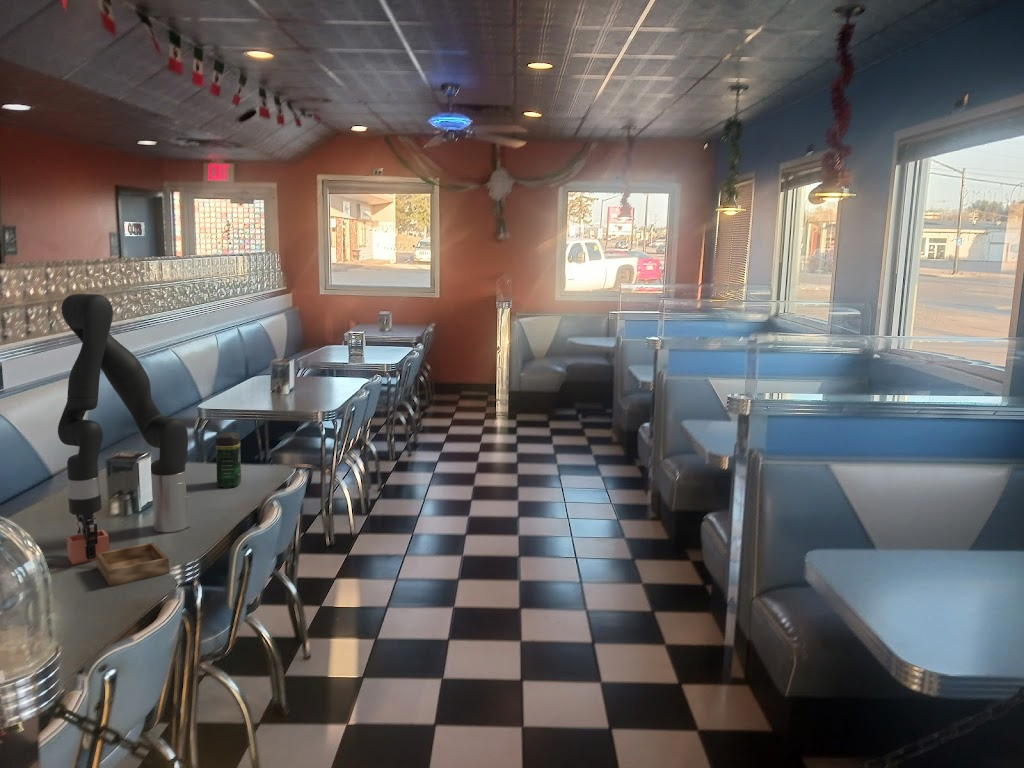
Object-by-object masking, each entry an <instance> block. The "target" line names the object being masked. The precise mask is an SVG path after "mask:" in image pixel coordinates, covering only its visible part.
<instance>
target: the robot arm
mask: <svg viewBox="0 0 1024 768" xmlns="http://www.w3.org/2000/svg"><path fill="white" fill-rule="evenodd" d="M61 315H62V317H63V319H64V322H65V323H66V324H67V326H68V327H69V328H70V330H71V331H72V332H73V333H74V334H75V336H76V337H77V338H78V339H79V340H80V342H82V343H81V344H82V345H81V348H80V351H79V353H78V355H77V358H76V360H75V361H74V363H73V365H72V368H71V370H70V373H69V377H68V383H67V397H66V399H67V400H66V404H65V405H64V408H63V411H62V415H61V417H60V420H59V422H58V426H57V436H58V438H59V440H60V442H62V444H64V445H65V446H66V445H67V446H74V447H78V449H79V450H78V454H77V453H76V454H73V455H71V456H69V457H68V459H67V462H66V468H67V469H66V470H67V498H68V511H69V513H70V514H71V515H75V517H76V518H75V519H76V527H77V528H76V529H77V535H78V534H81V535H82V537H83V538H84V540H85V547H86V558H87V559H94V558H96V548H95V544H98V540H97V531H98V523H97V518H96V517H95V516H94V514H95V513H98V512H99V511H101V510H102V507H103V506H102V494H101V493H102V490H101V481H100V476H99V464H98V463H99V462H98V461H99V457H100V456H99V455H100V452H101V448H102V443H103V438H104V432H103V429H102V427H101V425H100V424H99V422H97V421H95V420H92V419H91V420H90V419H84V417H85V415H86V413H87V412H88V411H92V410H95V409H96V408H97V407H98V405H99V404H98V401H99V392H100V391H99V390H100V380H101V378H100V377H101V370H102V372H103V374H104V376H105V377H106V379H107V381H108V382H109V384H110V385H111V386H112V388H113V390H114V391H115V392H116V394H117V395H118V397H119V398H120V400H121V401H122V403H123V404H124V405H125V408H126V409H127V410H128V411H129V413H130V414H131V416H132V418H133V420H134V422H135V424H136V426H137V428H138V430H139V432H140V434H141V436H142V438H143V439H144V441H145V442H146V444H147V445H149V446H151V447H153V448H156V449H159V457H158V458H159V459H156V460H154V461H152V463H151V464H150V476H151V478H150V479H151V493H152V494H151V495H152V497H151V498H152V513H153V515H152V516H153V528H154V531H155V532H158V533H173V532H174V533H175V532H179V531H182V530H184V529H187V528H190V527H191V519H190V518H191V517H190V514H191V513H190V496H189V495H188V494H187V479H186V476H187V475H186V464H187V462H188V457H189V437H188V436H189V433H188V429H187V426H186V424H185V423H184V422H183V420H180V419H177V418H173V417H167V416H165V415H163V413H162V412H161V411H160V409H159V408H158V407H157V405H156V404H155V402H154V401H153V398H152V393H151V392H152V389H151V388H152V387H151V380H150V378H149V375H148V373H147V372H146V370H145V368H144V367H143V365H142V363H141V362H140V360H139V359H138V358H137V357H136V356H135V354H133V352H131V351H130V350H129V349H128V348H126V347H125V346H124V345H123V344H121V343H120V342H119V341H118V340H117V339H116V338H114V337H113V336H112V334H111V333H110V330H111V327H112V323H113V318H114V317H113V315H114V310H113V306H112V303H111V301H110V300H109V299H108V298H107V297H105V296H104V295H102V294H97V293H96V294H94V293H93V294H91V293H76V294H71V295H68V296H66V298H64V299H63V301H62V304H61ZM85 533H86V534H85ZM92 537H93V540H91V541H89V538H92Z"/></svg>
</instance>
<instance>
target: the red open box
mask: <svg viewBox="0 0 1024 768" xmlns="http://www.w3.org/2000/svg"><path fill="white" fill-rule="evenodd" d="M85 534H86V533H85ZM109 537H110V536H109V533H107V532H106V530H105V529H101V530H100V529H99V530H97V540H98V544H95V548H96V554H97V553H102V552H107V551H111V549H110V538H109ZM65 539H66V549H67V550H66V551H67V559H68V561H69V562H70V564H71V565H72V566H73V565H78V564H82V563H87V562H92V561H97V558H94V559H87V558H86V547H85V540H84V538H83V537H82V535H81V534H78V533H77V534H73V535H67V536H66V537H65ZM91 540H93V537H92V538H89V541H91Z"/></svg>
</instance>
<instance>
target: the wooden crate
mask: <svg viewBox="0 0 1024 768" xmlns="http://www.w3.org/2000/svg"><path fill="white" fill-rule="evenodd" d="M96 558H97V560H96V569H97V570H98V573H100V575H101V576H102V578H103V579H104V580H105V581H106V583H107V585H108V586H109V587H115V586H120V585H124V584H128V583H132V582H136V581H142V580H146V579H151V578H154V577H159V576H160V577H161V576H163V575H168V574H170V563H169V562H170V558H169V557H168V556H167V555H166V554H165V553H164V552H163V551H162V550H161V549H160V548H159V547H158V545H157V544H155V542H153V541H152V542H148V543H142V544H139V545H135V546H134V545H133V546H127V547H122V548H118V549H112V550H110V551H107V552H102V553H97V554H96Z"/></svg>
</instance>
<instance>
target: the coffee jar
mask: <svg viewBox="0 0 1024 768" xmlns="http://www.w3.org/2000/svg"><path fill="white" fill-rule="evenodd" d="M215 460H216V461H215V462H216V485H217V487H218V488H219V487H220V488H225V489H226V488H227V489H229V488H232V487H238V486H239V485H240V484H241V482H242V468H241V467H242V465H241V462H242V460H241V435H240V434H239V433H237V432H236V431H223V432H222V433H220V434H218V435H217V436H216V438H215Z"/></svg>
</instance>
